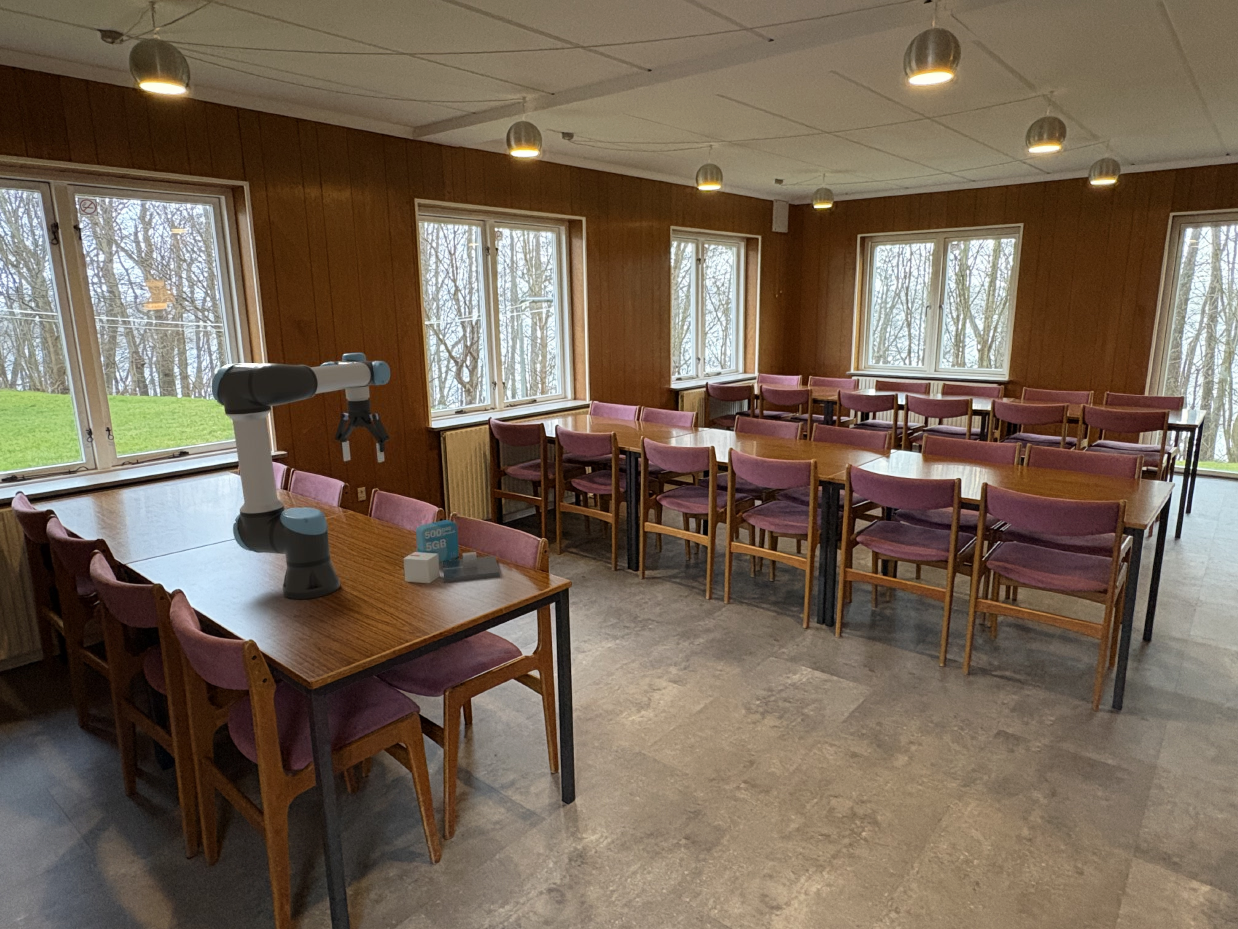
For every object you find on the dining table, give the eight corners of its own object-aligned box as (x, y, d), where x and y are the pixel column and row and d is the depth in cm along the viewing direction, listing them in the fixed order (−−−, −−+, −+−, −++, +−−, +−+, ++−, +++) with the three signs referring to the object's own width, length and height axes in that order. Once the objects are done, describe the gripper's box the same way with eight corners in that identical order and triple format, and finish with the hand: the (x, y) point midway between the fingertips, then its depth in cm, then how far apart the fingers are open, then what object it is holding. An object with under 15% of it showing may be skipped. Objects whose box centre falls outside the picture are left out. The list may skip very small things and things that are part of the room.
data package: (424, 566, 239) (421, 529, 237) (418, 563, 243) (415, 526, 240) (459, 557, 247) (456, 521, 244) (452, 554, 250) (450, 518, 248)
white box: (429, 583, 224) (427, 559, 223) (405, 581, 226) (403, 558, 225) (439, 576, 230) (438, 553, 229) (416, 574, 232) (414, 551, 231)
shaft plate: (499, 576, 228) (498, 559, 227) (443, 583, 224) (442, 564, 223) (495, 560, 243) (493, 543, 242) (442, 565, 239) (440, 548, 238)
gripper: (396, 398, 261) (401, 460, 265) (334, 397, 268) (340, 457, 272) (383, 400, 254) (389, 464, 258) (319, 400, 261) (326, 461, 265)
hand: (364, 461), depth 265 cm, fingers open, 13 cm apart
